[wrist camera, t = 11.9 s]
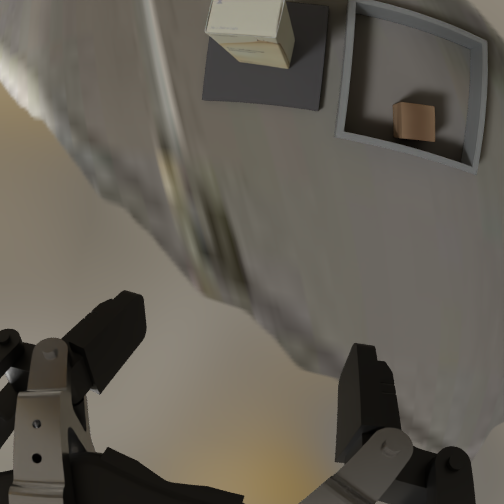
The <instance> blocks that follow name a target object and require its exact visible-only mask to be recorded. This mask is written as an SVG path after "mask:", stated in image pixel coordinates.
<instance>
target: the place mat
mask: <svg viewBox="0 0 504 504" xmlns="http://www.w3.org/2000/svg"><path fill="white" fill-rule="evenodd" d="M286 5H287V9H288V13H289V17H290V21H291V25H292V29H293V34H294V38H295V42H294V48H293V53H292V57H291V62H290V66H289V69H285V68H278V67H272V66H265V65H258V64H251V63H243V62H239V61H238V60H237V59H235V58H234V57H233V56H232V55H231V54H230V53H229V52H228V51H226V50H225V49H224V48H223V47H222V46H221V45H220V44H218V43H217V42H216V41H215V40H214V39H213V38H211V37H209V44H208V52H207V60H206V68H205V76H204V85H203V94H202V100H208V101H230V102H245V103H257V104H268V105H277V106H286V107H294V108H301V109H308V110H314V111H318V109H319V101H320V92H321V84H322V75H323V65H324V55H325V45H326V34H327V22H328V9H329V6H322V5H314V4H305V3H293V2H286Z"/></svg>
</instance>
